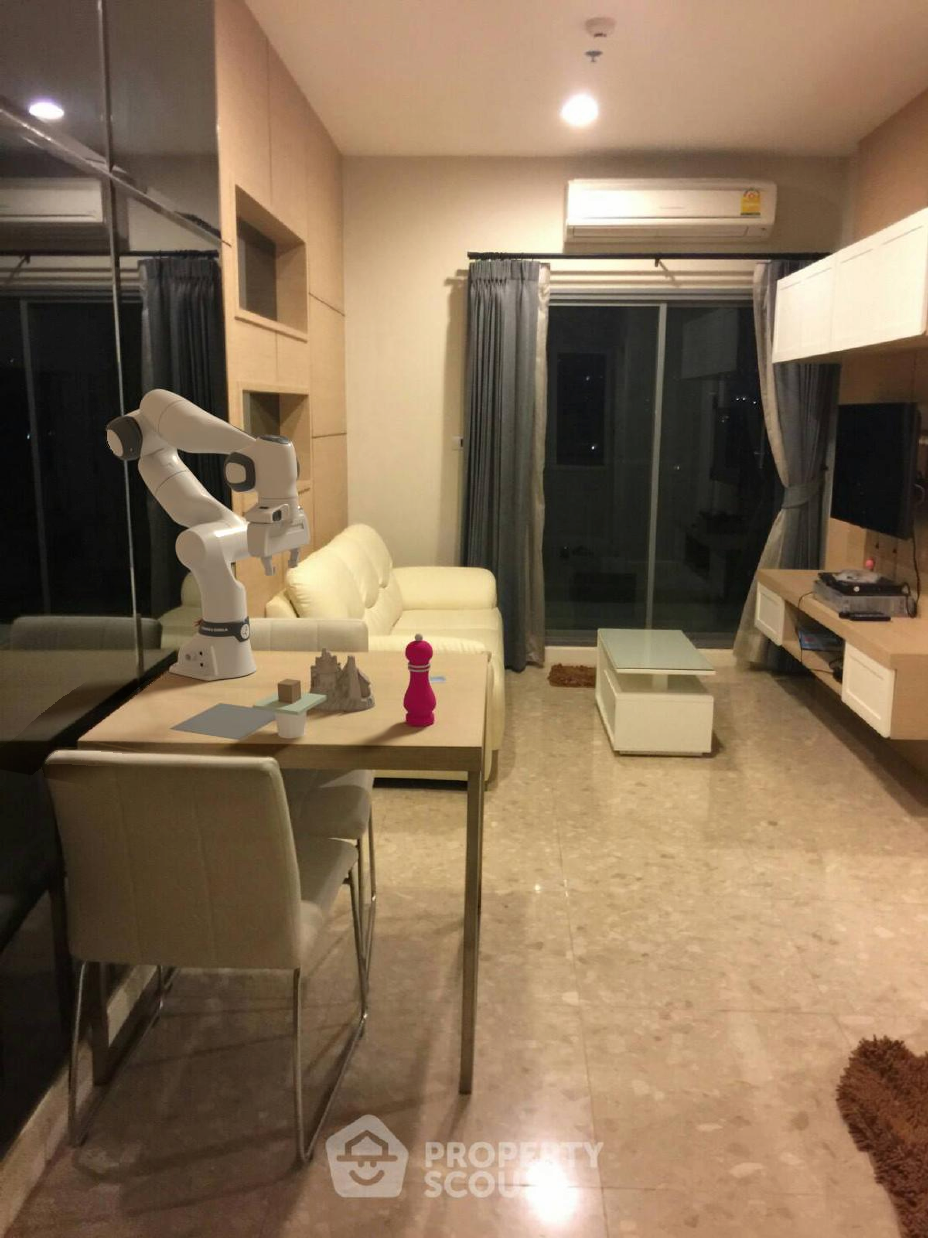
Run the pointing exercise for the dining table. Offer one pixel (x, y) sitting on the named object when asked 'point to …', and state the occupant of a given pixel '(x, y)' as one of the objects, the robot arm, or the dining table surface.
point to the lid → (289, 699)
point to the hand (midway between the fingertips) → (281, 571)
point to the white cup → (290, 725)
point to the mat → (227, 721)
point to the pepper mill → (419, 684)
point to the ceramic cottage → (340, 684)
